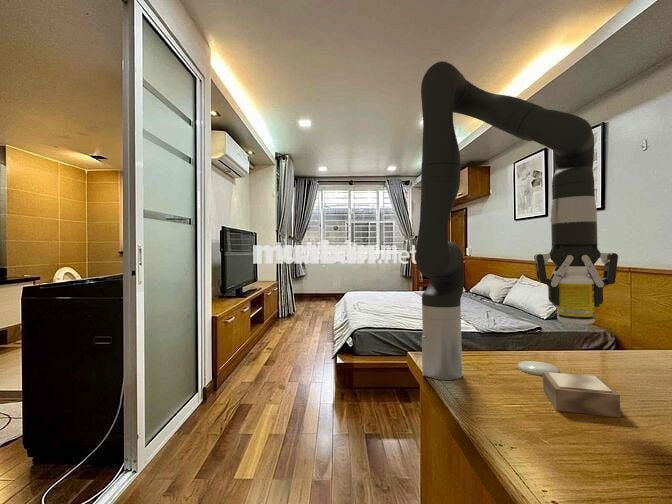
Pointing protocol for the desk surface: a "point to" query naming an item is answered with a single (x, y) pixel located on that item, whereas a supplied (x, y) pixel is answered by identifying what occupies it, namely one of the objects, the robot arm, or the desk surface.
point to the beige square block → (581, 394)
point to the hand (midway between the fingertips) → (575, 305)
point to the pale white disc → (537, 367)
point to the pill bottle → (576, 297)
